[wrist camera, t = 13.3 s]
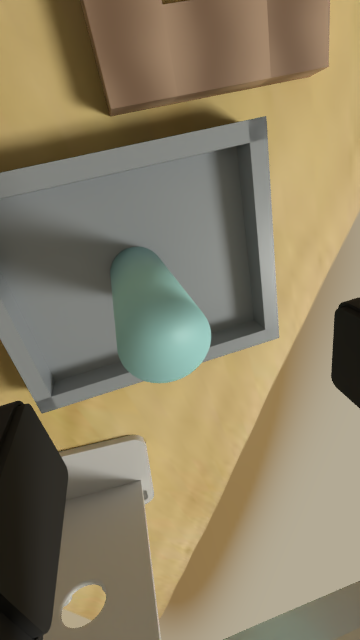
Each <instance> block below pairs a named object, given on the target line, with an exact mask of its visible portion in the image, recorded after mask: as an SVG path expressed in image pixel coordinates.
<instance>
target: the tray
mask: <svg viewBox="0 0 360 640" xmlns="http://www.w3.org/2000/svg"><path fill="white" fill-rule="evenodd" d="M130 247H144V248H147V249H150V250H151V251H153V252H154V253H155V254H157V256H158V257H159V258H160V259H161V261H162V262H163V263H164V264H165V266H166V267H167V268H168V269H169V271H170V272H171V273H172V274H173V276H174V277H175V278H176V280H177V281H178V282H179V283H180V285H181V286H182V287H183V288H184V290H185V291H186V292H187V293H188V295H189V296H190V297H191V299H192V300H193V301H194V302H195V304H196V305H197V306H198V307H199V309H200V310H201V311H202V312H203V314H204V315H205V317H206V318H207V320H208V322H209V325H210V329H211V343H210V347H209V351H208V353H207V355H206V357H205V358H204V360H203V361H202V362H205V361H208V360H211V359H214V358H218V357H221V356H224V355H227V354H230V353H233V352H236V351H239V350H243V349H246V348H249V347H252V346H255V345H258V344H261V343H265V342H268V341H271V340H274V339H277V338H279V326H278V309H277V292H276V275H275V258H274V241H273V223H272V206H271V189H270V172H269V155H268V138H267V121H266V116H265V117H260V118H255V119H251V120H246V121H241V122H236V123H232V124H227V125H222V126H218V127H213V128H208V129H204V130H199V131H194V132H189V133H185V134H180V135H175V136H171V137H166V138H161V139H157V140H152V141H147V142H143V143H138V144H133V145H128V146H124V147H119V148H114V149H110V150H105V151H100V152H96V153H91V154H86V155H81V156H77V157H72V158H67V159H63V160H58V161H53V162H49V163H44V164H39V165H35V166H30V167H25V168H20V169H16V170H11V171H6V172H2V173H0V339H1V341H2V343H3V345H4V347H5V348H6V350H7V352H8V354H9V356H10V357H11V359H12V361H13V363H14V365H15V366H16V368H17V370H18V372H19V374H20V375H21V377H22V379H23V381H24V383H25V384H26V386H27V388H28V390H29V392H30V393H31V395H32V397H33V399H34V400H35V402H36V404H37V406H38V408H39V409H40V411H41V413H45V412H48V411H51V410H55V409H58V408H61V407H64V406H67V405H70V404H73V403H76V402H80V401H83V400H86V399H89V398H92V397H95V396H98V395H102V394H105V393H108V392H111V391H114V390H117V389H120V388H123V387H127V386H130V385H133V384H136V383H139V382H142V381H143V380H141V379H139V378H137V377H135V376H133V375H132V374H131V373H129V372H128V371H127V370H126V368H125V367H124V366H123V364H122V363H121V361H120V358H119V355H118V351H117V342H116V331H115V320H114V309H113V299H112V288H111V277H110V269H111V265H112V262H113V260H114V259H115V257H116V256H117V255H118V254H119V253H120V252H122V251H123V250H125V249H127V248H130Z"/></svg>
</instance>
